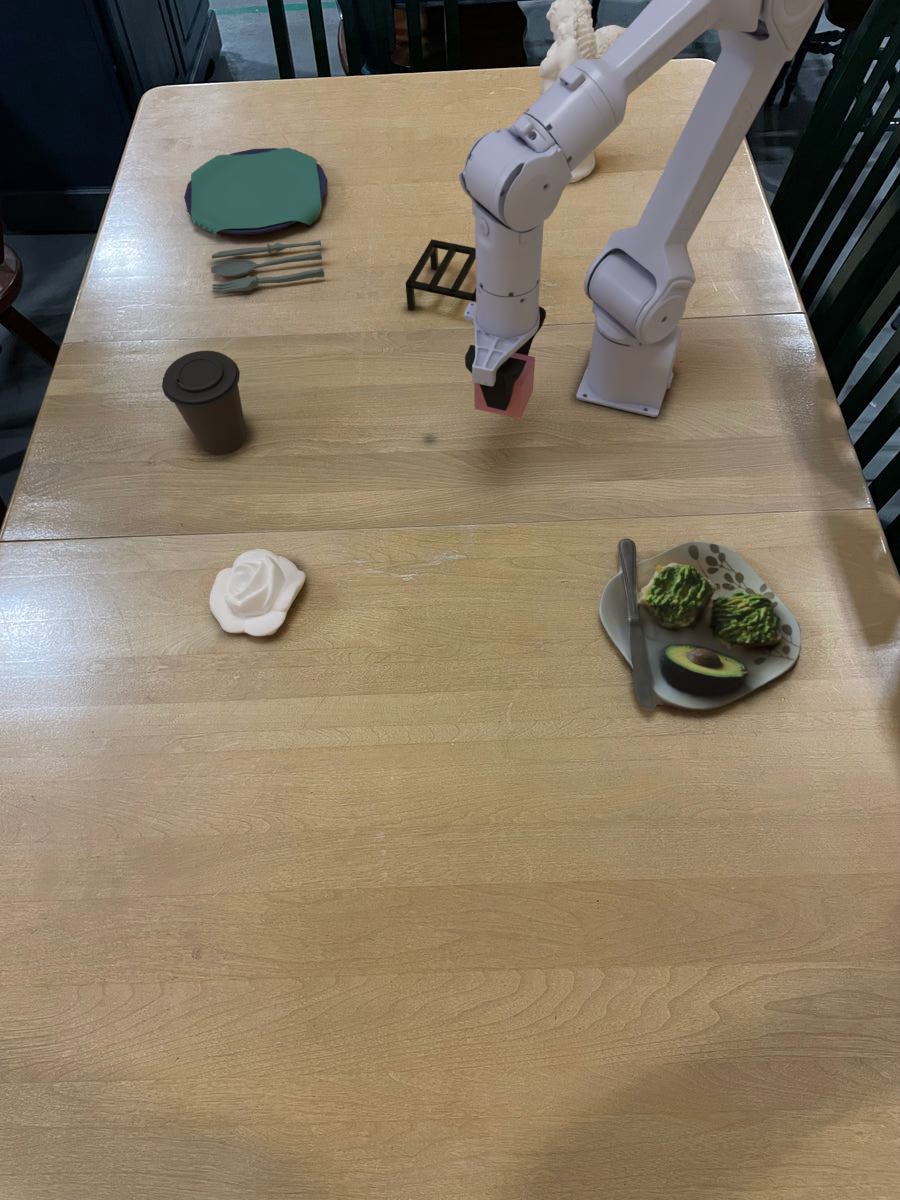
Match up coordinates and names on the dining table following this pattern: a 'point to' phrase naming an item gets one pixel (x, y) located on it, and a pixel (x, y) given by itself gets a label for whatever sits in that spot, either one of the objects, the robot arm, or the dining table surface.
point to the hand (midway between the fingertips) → (504, 389)
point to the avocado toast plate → (697, 626)
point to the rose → (255, 593)
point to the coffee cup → (208, 399)
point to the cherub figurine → (574, 50)
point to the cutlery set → (257, 206)
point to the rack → (440, 272)
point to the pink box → (519, 394)
